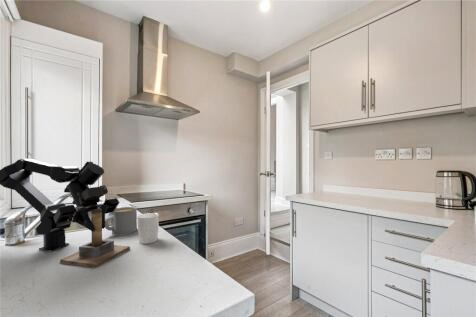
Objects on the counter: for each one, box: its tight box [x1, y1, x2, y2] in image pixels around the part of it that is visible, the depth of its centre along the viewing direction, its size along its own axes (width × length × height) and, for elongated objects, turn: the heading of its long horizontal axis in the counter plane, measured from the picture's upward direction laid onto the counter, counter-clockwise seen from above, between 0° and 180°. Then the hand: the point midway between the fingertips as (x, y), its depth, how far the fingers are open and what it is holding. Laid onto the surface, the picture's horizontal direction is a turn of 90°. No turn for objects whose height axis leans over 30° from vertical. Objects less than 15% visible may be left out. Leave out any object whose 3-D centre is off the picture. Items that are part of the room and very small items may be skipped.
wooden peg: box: [90, 209, 103, 247], centre depth 75 cm, size 3×3×13 cm
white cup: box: [137, 212, 160, 245], centre depth 88 cm, size 8×8×10 cm
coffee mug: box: [104, 206, 138, 236], centre depth 99 cm, size 13×10×10 cm
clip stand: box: [59, 239, 131, 269], centre depth 75 cm, size 14×14×4 cm
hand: (99, 229), depth 74 cm, fingers closed on wooden peg, 3 cm apart
